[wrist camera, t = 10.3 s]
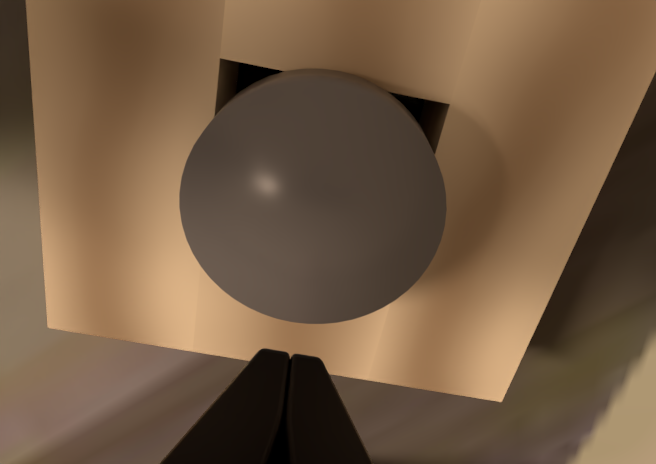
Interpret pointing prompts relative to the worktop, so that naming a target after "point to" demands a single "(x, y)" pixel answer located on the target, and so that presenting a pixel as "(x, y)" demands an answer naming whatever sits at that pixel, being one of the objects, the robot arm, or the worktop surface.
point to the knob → (313, 197)
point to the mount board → (386, 72)
